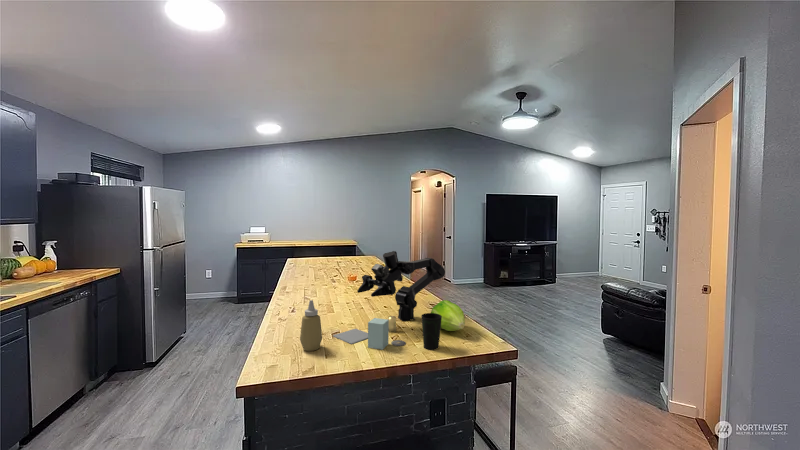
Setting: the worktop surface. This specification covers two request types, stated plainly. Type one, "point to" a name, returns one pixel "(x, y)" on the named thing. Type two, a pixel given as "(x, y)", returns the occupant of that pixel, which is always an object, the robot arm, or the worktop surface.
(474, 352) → the worktop surface
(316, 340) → the squeeze bottle
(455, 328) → the lettuce
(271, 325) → the worktop surface
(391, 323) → the peg
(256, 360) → the worktop surface
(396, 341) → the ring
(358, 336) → the mat
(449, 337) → the worktop surface
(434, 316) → the cup
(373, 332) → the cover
